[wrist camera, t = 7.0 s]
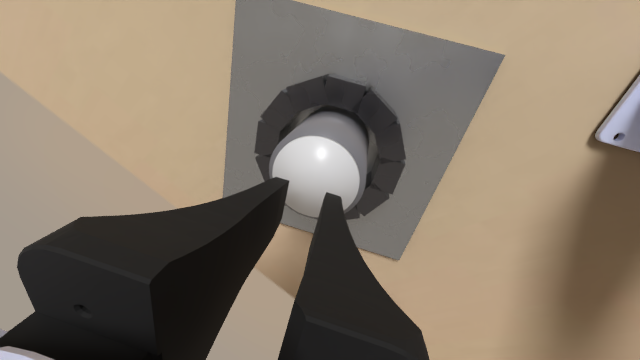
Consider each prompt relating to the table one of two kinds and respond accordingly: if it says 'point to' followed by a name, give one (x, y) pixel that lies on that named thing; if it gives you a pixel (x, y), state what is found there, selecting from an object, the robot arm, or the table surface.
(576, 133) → the table surface
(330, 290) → the robot arm
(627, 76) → the table surface
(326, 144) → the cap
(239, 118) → the flat grey square plate
